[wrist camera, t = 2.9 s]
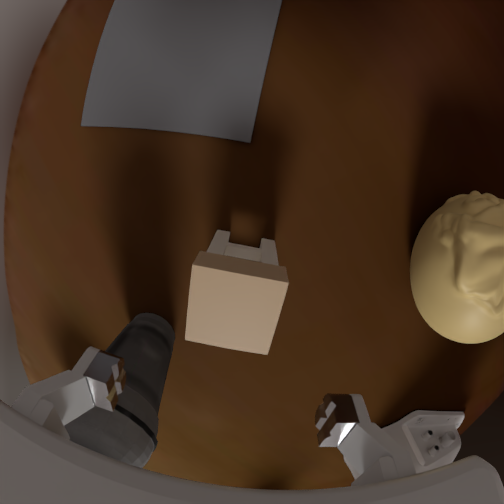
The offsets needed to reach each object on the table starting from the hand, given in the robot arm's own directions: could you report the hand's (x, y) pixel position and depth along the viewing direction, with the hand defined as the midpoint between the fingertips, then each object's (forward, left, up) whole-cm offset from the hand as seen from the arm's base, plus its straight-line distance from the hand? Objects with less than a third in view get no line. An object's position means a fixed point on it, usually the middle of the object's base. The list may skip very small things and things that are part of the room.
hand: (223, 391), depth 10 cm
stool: (0, 0, -13) cm, 13 cm away
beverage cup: (+7, +9, -13) cm, 18 cm away
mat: (+8, -16, -13) cm, 22 cm away
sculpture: (-18, -5, -13) cm, 23 cm away
